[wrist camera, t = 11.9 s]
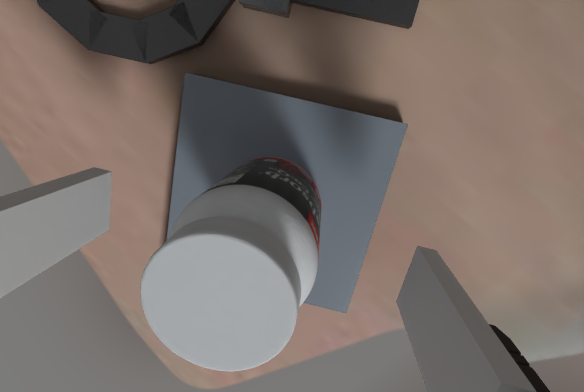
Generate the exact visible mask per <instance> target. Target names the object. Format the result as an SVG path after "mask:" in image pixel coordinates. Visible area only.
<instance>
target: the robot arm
mask: <svg viewBox="0 0 584 392" xmlns="http://www.w3.org/2000/svg"><path fill="white" fill-rule="evenodd" d="M111 176H112V171H108V170H103V169H99V168H95V167H94V168H91V169H87V170H84V171H81V172H78V173H75V174H71V175H68V176H65V177H62V178H59V179H55V180H52V181H49V182H46V183H43V184H40V185H36V186H33V187H30V188H27V189H24V190H20V191H18V192H14V193H11V194H8V195H5V196H1V197H0V298H1V297H3V296H4V295H6V294H7V293H9V292H11V291H12V290H14V289H16V288H17V287H19V286H20V285H22V284H24V283H25V282H27V281H28V280H30V279H31V278H33V277H35V276H36V275H38V274H40V273H41V272H43V271H44V270H46V269H47V268H49V267H51V266H52V265H54V264H55V263H57V262H59V261H60V260H62V259H64V258H65V257H67V256H68V255H70V254H71V253H73V252H75V251H76V250H78V249H80V248H81V247H83V246H84V245H86V244H88V243H89V242H91V241H92V240H94V239H96V238H97V237H99V236H100V235H102V234H104V233H105V232H107V231H108V230H109V225H110V201H111ZM396 302H397V304H398V307H399V310H400V313H401V316H402V319H403V322H404V325H405V328H406V331H407V333H408V336H409V339H410V342H411V345H412V348H413V351H414V354H415V357H416V359H417V363H418V365H419V368H420V371H421V374H422V377H423V380H424V383H425V385H426V389H427V391H428V392H550V391H549V390H548V388H547V387H546V386H545V384H544V383H543V382H542V380H541V379H540V378H539V376H538V375H537V374H536V372H535V371H534V370H533V369H532V368H531V367H530V366H529V365H530V364H529V363H528V362H527V360H526V359H525V358H524V356H522V355H521V353H520V351H519V350H518V349H517V347H516V346H515V345H514V343H513V342H512V341H511V339H510V338H508V337H507V336H506V335H505V334H504V333H503V332H502V331H500V330H499V329H498V328H497V327H496V326H494V325H490V324H488V323H487V321H486V320H485V319H484V317H483V316H482V314H481V313H480V311H479V310H478V309H477V307H476V306H475V304H474V303H473V302H472V300H471V299H470V297H469V296H468V295H467V293H466V292H465V290H464V289H463V288H462V286H461V285H460V283H459V282H458V281H457V279H456V278H455V276H454V275H453V274H452V272H451V271H450V269H449V268H448V267H447V265H446V264H445V262H444V261H443V259H442V258H441V257H440V255H439V254H438V252H437V251H436V250H433V249H429V248H425V247H421V246H417V248H416V251H415V254H414V256H413V259H412V262H411V264H410V267H409V269H408V272H407V275H406V277H405V280H404V282H403V285H402V288H401V290H400V293H399V295H398V298H397V301H396Z"/></svg>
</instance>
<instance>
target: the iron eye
mask: <svg viewBox="0 0 584 392" xmlns="http://www.w3.org/2000/svg"><path fill="white" fill-rule="evenodd" d="M234 1H235V0H178V2H177V3H176V5H175V6H173V7H170V8H168V9H165V10H163V11H161V12H158V13H156V14H153V15H151V16H148V17H146V18H144V19H141V20H139V21H138V20H134V19H130V18H125V17H121V16H117V15H112V14H108V13H105V12H104V11H102V10H101V9H100V8H99V7H98V6H97V5H96V4H95V3H94V2H93V1H92V0H37V2H38V4H39V6H40V7H41V8H42V9H43V10H44V11H46V12H47V13H48V14H49V15H50V16H51V17H52V18H53V19H55V20H56V21H57V22H58V23H59V24H60V25H61V26H62V27H64V28H65V29H66V30H67V31H68V32H69V33H70V34H71V35H73V36H74V37H75V38H76V39H77V40H78V41H79V42H80V43H82V44H83V45H84V46H85V47H86V48H87V49H88V50H91V51H96V52H100V53H104V54H109V55H113V56H117V57H122V58H126V59H130V60H134V61H139V62H143V63H148V64H153V63H156V62H158V61H161V60H163V59H166V58H169V57H171V56H174V55H177V54H179V53H182V52H184V51H187V50H190V49H192V48H195V47H198V46H200V45H203V44H204V42H205V41H206V40H207V38H208V37H209V35H210V34H211V33H212V31H213V30H214V29H215V27H216V26H217V25H218V23H219V22H220V20H221V19H222V18H223V16H224V15H225V14H226V12H227V11H228V9H229V8H230V7H231V5H232V4H233V3H234ZM239 3H240V4H241V5H242V6H243V7H244V8H248V9H253V10H257V11H262V12H266V13H270V14H275V15H279V16H284V17H288V18H289V13H290V8H291V3H295V4H300V5H304V6H309V7H313V8H318V9H322V10H326V11H331V12H335V13H340V14H344V15H349V16H353V17H358V18H362V19H366V20H371V21H375V22H380V23H384V24H389V25H393V26H397V27H402V28H406V29H409V28H410V27H411V26H412V23H413V20H414V17H415V13H416V10H417V7H418V3H419V0H239Z"/></svg>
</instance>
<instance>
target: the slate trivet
mask: <svg viewBox="0 0 584 392" xmlns="http://www.w3.org/2000/svg"><path fill="white" fill-rule="evenodd" d="M407 125H408V124H406V123H402V122H398V121H393V120H389V119H385V118H380V117H376V116H372V115H368V114H363V113H359V112H355V111H350V110H346V109H342V108H337V107H333V106H329V105H325V104H320V103H316V102H312V101H307V100H303V99H299V98H294V97H290V96H286V95H282V94H277V93H273V92H269V91H264V90H260V89H256V88H251V87H247V86H243V85H239V84H234V83H230V82H226V81H221V80H217V79H213V78H208V77H204V76H200V75H196V74H191V73H186V72H185V77H184V86H183V95H182V104H181V113H180V122H179V132H178V141H177V150H176V159H175V168H174V177H173V186H172V195H171V204H170V213H169V222H168V231H167V240H168V239H169V238H170V235H171V231H172V229H173V226H174V224H175V222H176V220H177V219H178V217H179V215H180V214H181V213H182V211H183V210H184V209H185V208H186V207H187V206H188V205H189V204H190V203H191V202H192V201H193V200H194V199H195V198H197V197H198V196H200V195H201V194H202V193H204V192H205V191H206V190H208V189H209V188H210V187H212V186H213V185H215V184H216V183H217V182H219V181H220V180H222V179H223V178H224V177H226V176H227V175H228V174H230V173H231V172H232V171H234V170H235V169H236V168H237V167H239V166H240V165H242V164H244V163H246V162H248V161H250V160H252V159H256V158H260V157H278V158H283V159H286V160H289V161H291V162H293V163H295V164H297V165H298V166H300V167H301V168H302V169H304V170H305V171H306V172H307V173H308V174H309V175H310V177H311V178H312V179H313V181H314V183H315V184H316V187H317V189H318V191H319V195H320V199H321V225H320V242H319V261H318V269H317V275H316V278H315V282H314V285H313V287H312V289H311V291H310V293H309V295H308V297H307V298H306V300H305V301H304V302H303V303H307V304H311V305H315V306H319V307H323V308H327V309H331V310H335V311H339V312H343V313H347V309H348V306H349V303H350V300H351V297H352V294H353V291H354V288H355V285H356V282H357V279H358V276H359V273H360V270H361V266H362V263H363V260H364V257H365V254H366V251H367V248H368V245H369V242H370V239H371V236H372V233H373V230H374V226H375V223H376V220H377V217H378V214H379V211H380V208H381V205H382V202H383V199H384V196H385V193H386V190H387V187H388V183H389V180H390V177H391V174H392V171H393V168H394V165H395V162H396V159H397V156H398V153H399V150H400V147H401V144H402V140H403V137H404V134H405V131H406V128H407Z"/></svg>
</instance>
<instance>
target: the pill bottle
mask: <svg viewBox="0 0 584 392" xmlns="http://www.w3.org/2000/svg"><path fill="white" fill-rule="evenodd" d="M320 225H321V199H320V195H319V191H318V189H317V187H316V184H315V183H314V181H313V179H312V178H311V177H310V175H309V174H308V173H307V172H306V171H305V170H304V169H302V168H301V167H300V166H298V165H297V164H295V163H293V162H291V161H289V160H286V159H283V158H278V157H260V158H256V159H252V160H250V161H248V162H246V163H244V164H242V165H240V166H239V167H237V168H236V169H235V170H234V171H232V172H231V173H230V174H228V175H227V176H226V177H224V178H223V179H222V180H220V181H219V182H217V183H216V184H215V185H213V186H212V187H210V188H209V189H208V190H206V191H205V192H204V193H202V194H201V195H200V196H198V197H197V198H195V199H194V200H193V201H192V202H191V203H190V204H189V205H188V206H187V207H186V208H185V209H184V210H183V211H182V213H181V214H180V215H179V217H178V219H177V220H176V222H175V224H174V226H173V229H172V231H171V235H170V238H169V239H168V240H167V241H166V242H165V243H164V244H163V245H162V246H161V247H160V248H159V249H158V250H157V251H156V252H155V253H154V254H153V255H152V257H151V258H150V260H149V261H148V263H147V265H146V267H145V269H144V272H143V276H142V280H141V287H140V289H141V302H142V307H143V311H144V314H145V316H146V319H147V321H148V323H149V325H150V327H151V328H152V330H153V331H154V333H155V334H156V336H157V337H158V338H159V339H160V340H161V341H162V342H163V344H165V345H166V346H167V347H168V348H169V349H170V350H171V351H173V352H174V353H175V354H177V355H179V356H180V357H182V358H184V359H185V360H187V361H189V362H191V363H193V364H196V365H199V366H201V367H205V368H208V369H213V370H219V371H240V370H246V369H250V368H254V367H257V366H259V365H262V364H264V363H265V362H267V361H269V360H270V359H272V358H273V357H275V356H276V355H277V354H278V353H279V352H280V351H281V350H282V349H283V348H284V347H285V345H286V344H287V342H288V341H289V339H290V337H291V335H292V333H293V331H294V328H295V325H296V321H297V315H298V309H299V307H300V306H301V305H302V304H303V302H304V301H305V300H306V298H307V297H308V295H309V293H310V291H311V289H312V287H313V285H314V282H315V278H316V275H317V269H318V261H319V242H320Z"/></svg>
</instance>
